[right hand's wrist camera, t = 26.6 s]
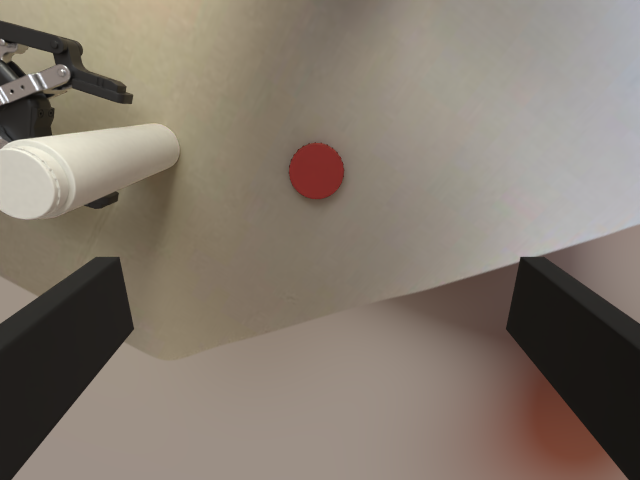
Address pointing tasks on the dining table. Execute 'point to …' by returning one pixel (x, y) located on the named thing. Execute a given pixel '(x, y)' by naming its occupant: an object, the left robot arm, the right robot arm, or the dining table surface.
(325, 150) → the lid
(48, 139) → the bottle
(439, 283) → the dining table surface
